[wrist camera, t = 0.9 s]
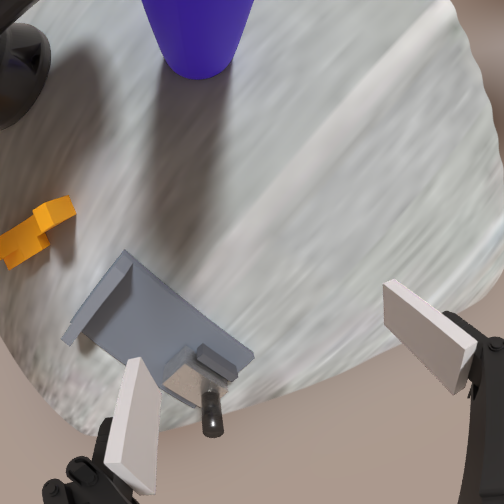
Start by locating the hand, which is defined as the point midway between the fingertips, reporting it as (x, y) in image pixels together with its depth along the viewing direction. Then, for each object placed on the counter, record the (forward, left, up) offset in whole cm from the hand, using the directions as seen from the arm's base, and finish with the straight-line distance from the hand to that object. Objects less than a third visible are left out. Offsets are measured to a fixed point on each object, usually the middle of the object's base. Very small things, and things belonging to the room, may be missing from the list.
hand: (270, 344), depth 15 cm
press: (+3, -16, -22) cm, 28 cm away
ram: (+9, -16, -21) cm, 28 cm away
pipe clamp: (-19, -16, -23) cm, 34 cm away
